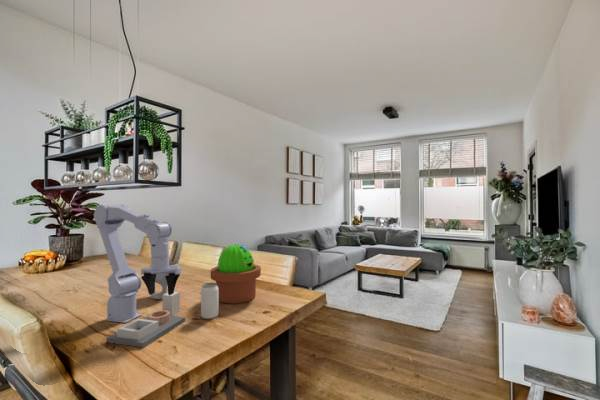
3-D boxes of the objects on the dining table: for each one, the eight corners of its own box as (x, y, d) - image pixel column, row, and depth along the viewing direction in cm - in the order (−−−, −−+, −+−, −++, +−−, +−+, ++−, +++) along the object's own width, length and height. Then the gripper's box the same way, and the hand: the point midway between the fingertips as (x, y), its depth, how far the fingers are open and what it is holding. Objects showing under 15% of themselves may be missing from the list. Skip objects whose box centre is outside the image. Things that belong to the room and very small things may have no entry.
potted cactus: (200, 301, 130) (200, 245, 130) (233, 287, 149) (233, 239, 149) (239, 309, 119) (239, 248, 119) (269, 294, 139) (269, 241, 139)
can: (212, 311, 117) (212, 281, 117) (221, 315, 113) (221, 284, 113) (197, 316, 112) (197, 285, 112) (207, 320, 108) (207, 288, 108)
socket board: (106, 342, 92) (106, 329, 92) (153, 317, 111) (153, 307, 111) (143, 348, 88) (143, 334, 88) (185, 321, 108) (185, 310, 108)
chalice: (186, 293, 139) (186, 262, 139) (160, 302, 127) (159, 268, 127) (168, 289, 146) (168, 259, 147) (141, 297, 134) (141, 265, 134)
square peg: (162, 315, 113) (162, 294, 113) (170, 311, 118) (170, 291, 118) (172, 316, 112) (172, 295, 112) (179, 312, 117) (179, 292, 117)
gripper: (134, 258, 102) (135, 297, 102) (171, 258, 99) (173, 297, 99) (148, 255, 109) (149, 291, 109) (183, 254, 106) (184, 291, 106)
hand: (161, 294), depth 104 cm, fingers open, 7 cm apart
